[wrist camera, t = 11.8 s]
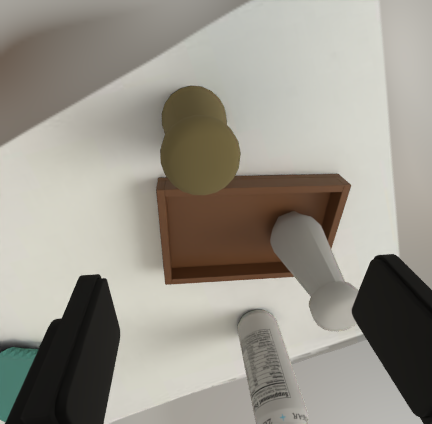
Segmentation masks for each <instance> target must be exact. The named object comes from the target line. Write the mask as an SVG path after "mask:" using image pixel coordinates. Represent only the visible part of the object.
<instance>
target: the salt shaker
mask: <svg viewBox="0 0 432 424" xmlns="http://www.w3.org/2000/svg"><path fill="white" fill-rule="evenodd" d="M270 243H271V246H272V248H273V251H274V253H275V254H276V255H277V256H278V257H279V259H280V260H281V261H282V262H283V264H284V265H285V266H286V267H287V268H288V270H289V271H290V272H291V273H292V274H293V276H294V277H295V278H296V279H297V280H298V282H299V283H300V284H301V285H302V287H303V288H304V289H305V290H306V291H307V293H308V294H309V295H310V296H311V298H310V301H309V308H310V311H311V314H312V316H313V319H314V320H315V322H316V323H317V324H318V326H320V327H321V328H323V329H324V330H328V331H336V332H337V331H343V330H347V329H349V328H351V327H353V326H355V325H356V324H357V323H356V321H355V320H354V318H353V316H352V306H353V304H354V302H355V299H356V297H357V294H358V292H359V291H358V289H356V288H355V287H354V286H353V285H351V284H350V283H348V282H345V281H344V278H343V276H342V274H341V271H340V269H339V267H338V264H337V262H336V260H335V257H334V255H333V253H332V250H331V248H330V245H329V243H328V241H327V238H326V236H325V234H324V231H323V229H322V227H321V225H320V224H319V223H318V222H317V221H316V220H315V219H313V218H312V217H311V216H306V215H302V214H299V213H297V212H295V211H292V212H290V213H287V214H284V215H282V216H279V217H278V219H277V221H276V223H275V225H274V227H273V229H272V234H271V239H270Z"/></svg>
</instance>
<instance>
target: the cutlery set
mask: <svg viewBox="0 0 432 424" xmlns="http://www.w3.org/2000/svg"><path fill="white" fill-rule="evenodd" d="M37 352H38V349H30V348H28V349H25V348H17V347H11V348H8V349H6V350H5V351H3V352H0V420H2V421H4V422H6V420H7V418H8V416H9V414H10V411H11V409H12V407H13V405H14V402H15V400H16V398H17V396H18V394H19V391H20V389H21V387H22V385H23V383H24V380H25V378H26V376H27V374H28V371H29V369H30V367H31V365H32V363H33V360H34V358H35V356H36V354H37Z"/></svg>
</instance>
